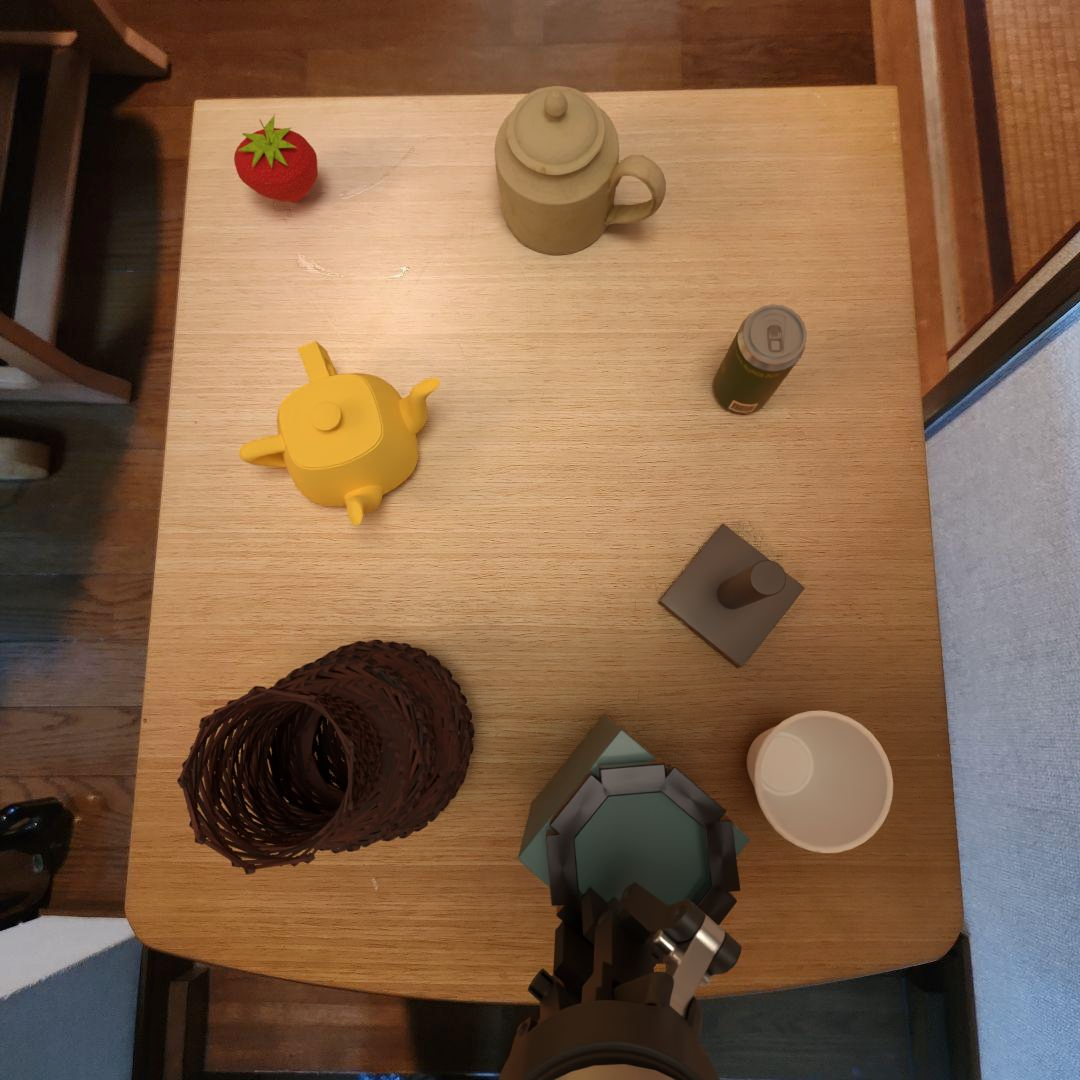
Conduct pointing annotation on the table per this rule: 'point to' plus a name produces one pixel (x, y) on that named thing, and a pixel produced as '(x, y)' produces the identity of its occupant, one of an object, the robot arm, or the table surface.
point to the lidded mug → (566, 172)
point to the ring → (632, 781)
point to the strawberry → (277, 163)
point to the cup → (821, 781)
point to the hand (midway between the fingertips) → (591, 925)
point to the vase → (330, 757)
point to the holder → (731, 595)
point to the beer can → (759, 358)
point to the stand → (621, 828)
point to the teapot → (344, 435)
